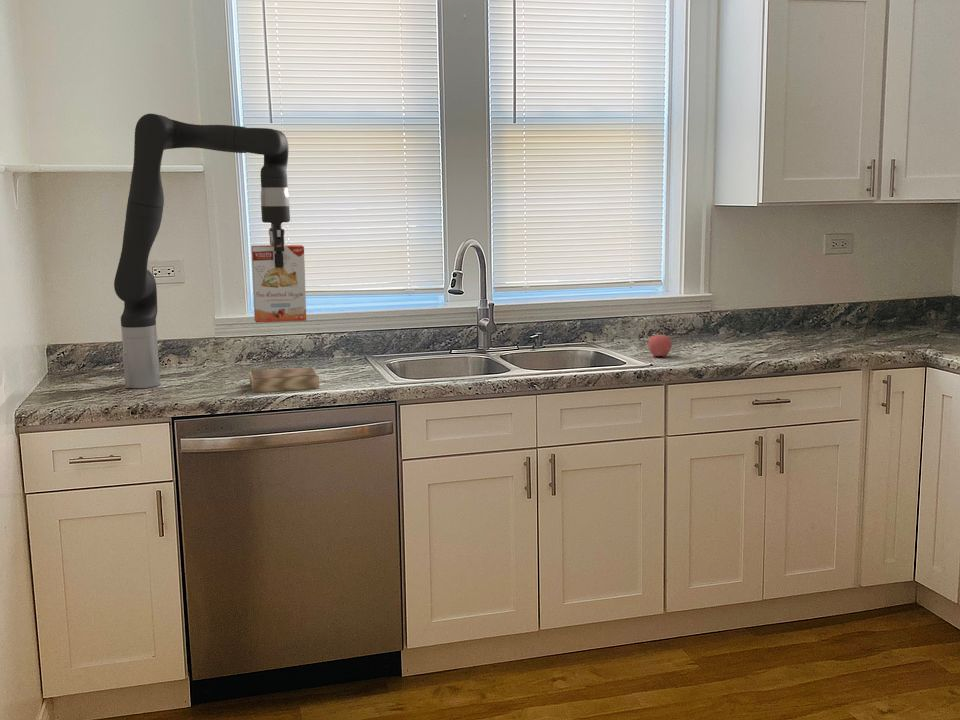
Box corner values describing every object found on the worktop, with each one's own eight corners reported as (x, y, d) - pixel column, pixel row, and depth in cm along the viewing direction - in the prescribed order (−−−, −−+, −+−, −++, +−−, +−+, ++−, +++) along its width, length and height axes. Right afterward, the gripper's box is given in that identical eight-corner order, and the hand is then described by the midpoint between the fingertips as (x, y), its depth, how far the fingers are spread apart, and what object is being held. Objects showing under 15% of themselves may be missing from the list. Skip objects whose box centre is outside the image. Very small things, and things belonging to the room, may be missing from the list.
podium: (252, 392, 251) (252, 379, 250) (250, 383, 263) (249, 370, 262) (319, 388, 256) (318, 374, 255) (313, 379, 268) (313, 366, 267)
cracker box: (255, 323, 251) (251, 246, 248) (254, 320, 257) (250, 245, 253) (307, 321, 255) (304, 245, 252) (305, 318, 261) (302, 244, 257)
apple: (647, 358, 296) (647, 333, 295) (648, 354, 303) (649, 330, 302) (670, 359, 294) (671, 334, 293) (671, 355, 301) (672, 331, 300)
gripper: (292, 204, 245) (294, 268, 248) (286, 204, 258) (289, 264, 261) (263, 205, 243) (266, 269, 246) (259, 204, 256) (262, 265, 259)
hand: (278, 266), depth 253 cm, fingers closed on cracker box, 6 cm apart
